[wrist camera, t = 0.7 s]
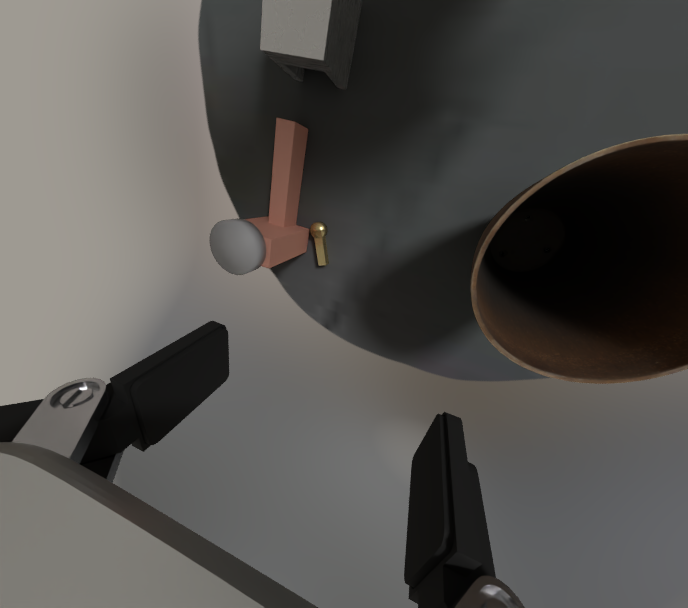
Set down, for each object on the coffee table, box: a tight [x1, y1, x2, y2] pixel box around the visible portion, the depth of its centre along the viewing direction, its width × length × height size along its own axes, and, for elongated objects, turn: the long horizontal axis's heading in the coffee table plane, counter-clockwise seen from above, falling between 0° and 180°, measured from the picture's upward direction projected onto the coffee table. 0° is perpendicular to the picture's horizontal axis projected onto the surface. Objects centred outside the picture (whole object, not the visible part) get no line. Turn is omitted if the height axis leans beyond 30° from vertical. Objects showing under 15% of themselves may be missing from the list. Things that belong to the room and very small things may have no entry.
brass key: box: [310, 222, 329, 266], centre depth 36 cm, size 6×2×1 cm, turn 6°
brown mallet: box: [210, 118, 310, 275], centre depth 30 cm, size 17×7×12 cm, turn 166°
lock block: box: [260, 0, 362, 90], centre depth 24 cm, size 7×7×7 cm
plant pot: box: [471, 134, 688, 384], centre depth 21 cm, size 15×15×16 cm
